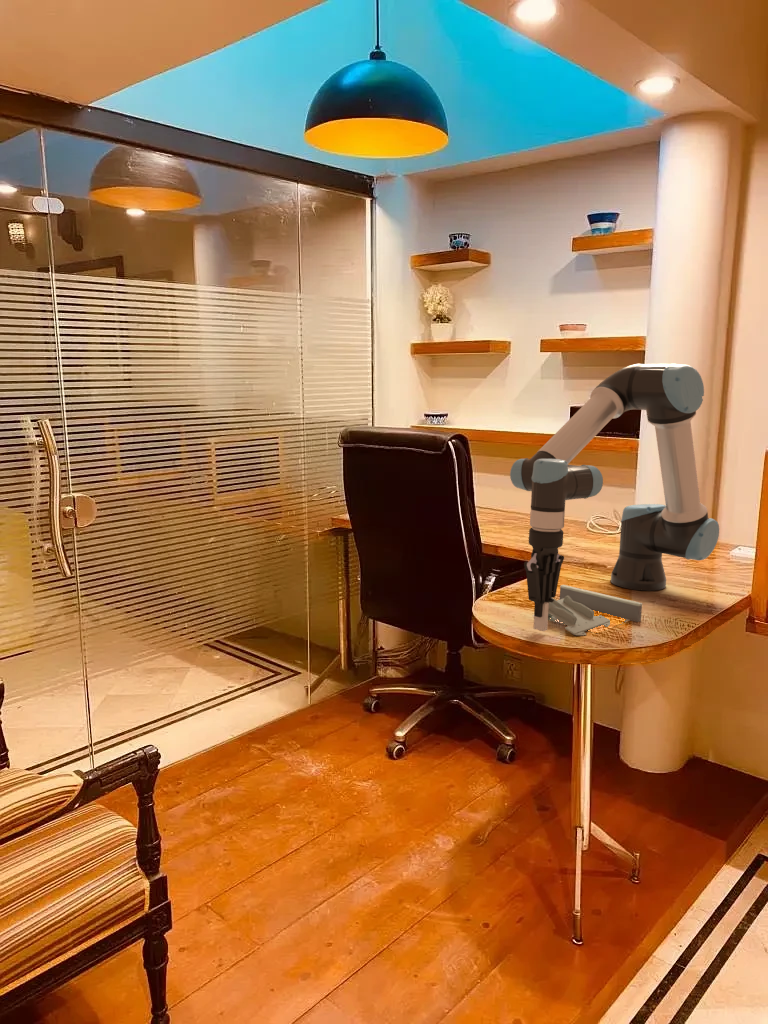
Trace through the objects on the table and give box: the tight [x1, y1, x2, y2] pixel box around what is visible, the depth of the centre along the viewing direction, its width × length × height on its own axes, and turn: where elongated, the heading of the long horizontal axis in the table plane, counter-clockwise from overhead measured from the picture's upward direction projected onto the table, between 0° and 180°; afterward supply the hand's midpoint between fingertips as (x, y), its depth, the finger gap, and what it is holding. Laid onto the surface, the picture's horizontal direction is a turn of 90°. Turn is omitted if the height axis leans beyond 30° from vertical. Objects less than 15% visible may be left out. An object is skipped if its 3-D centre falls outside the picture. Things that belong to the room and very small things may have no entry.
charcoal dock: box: [532, 584, 644, 626], centre depth 192 cm, size 17×22×5 cm
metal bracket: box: [548, 596, 610, 637], centre depth 187 cm, size 14×6×15 cm
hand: (540, 629), depth 179 cm, fingers closed
